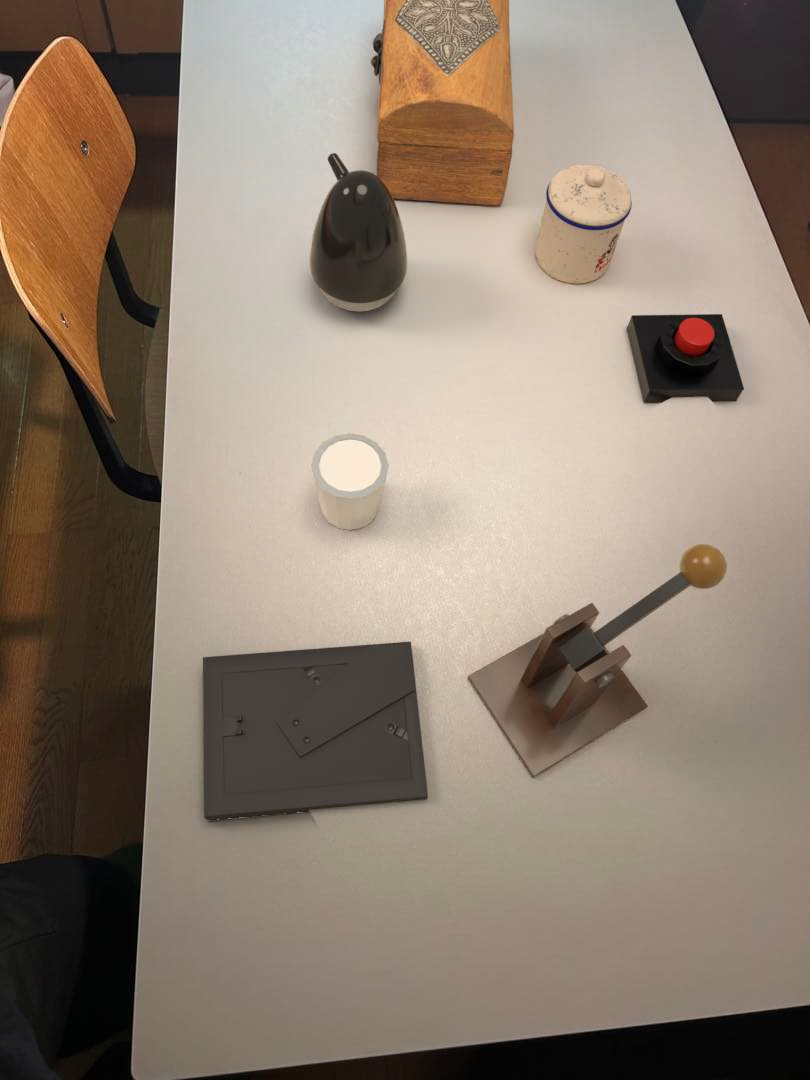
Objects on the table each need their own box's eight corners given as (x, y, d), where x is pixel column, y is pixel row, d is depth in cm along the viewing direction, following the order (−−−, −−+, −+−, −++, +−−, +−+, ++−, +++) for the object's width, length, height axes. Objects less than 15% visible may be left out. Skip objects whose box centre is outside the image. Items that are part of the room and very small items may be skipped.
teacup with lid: (607, 293, 104) (636, 212, 93) (526, 278, 104) (547, 195, 94) (617, 218, 109) (645, 134, 99) (541, 204, 110) (561, 118, 100)
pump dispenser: (370, 242, 105) (374, 126, 92) (422, 302, 102) (435, 191, 88) (292, 277, 102) (285, 162, 89) (343, 340, 98) (343, 231, 85)
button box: (715, 327, 102) (728, 302, 99) (736, 401, 98) (751, 377, 94) (626, 328, 101) (636, 303, 98) (643, 403, 97) (655, 379, 93)
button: (704, 328, 97) (710, 317, 96) (712, 355, 96) (718, 344, 94) (670, 329, 97) (676, 317, 96) (678, 356, 95) (683, 345, 94)
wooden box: (375, 37, 123) (379, -74, 110) (500, 47, 123) (517, -62, 111) (362, 198, 108) (364, 92, 96) (503, 209, 109) (523, 104, 97)
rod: (707, 541, 72) (707, 530, 69) (736, 575, 71) (736, 566, 68) (558, 646, 74) (551, 639, 71) (584, 681, 73) (578, 676, 69)
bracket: (576, 619, 85) (612, 555, 74) (643, 711, 81) (691, 658, 70) (465, 681, 81) (485, 624, 70) (530, 781, 78) (562, 737, 66)
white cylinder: (298, 504, 89) (295, 464, 83) (349, 461, 91) (349, 419, 85) (350, 549, 87) (350, 512, 81) (400, 504, 89) (404, 464, 83)
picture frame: (409, 649, 82) (205, 664, 81) (411, 639, 80) (202, 655, 79) (426, 801, 76) (206, 822, 75) (428, 795, 74) (202, 816, 73)
